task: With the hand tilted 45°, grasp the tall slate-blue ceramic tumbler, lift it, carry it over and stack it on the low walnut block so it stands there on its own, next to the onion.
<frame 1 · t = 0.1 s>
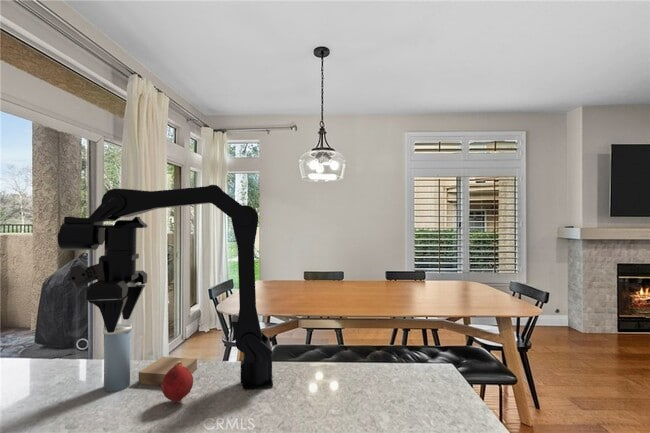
hand: (119, 325, 72), 15 cm above the countertop, tool pointing down, fingers open, 9 cm apart
onion: (177, 403, 70), on the countertop
tumbler: (117, 386, 76), on the countertop
block: (168, 376, 81), on the countertop
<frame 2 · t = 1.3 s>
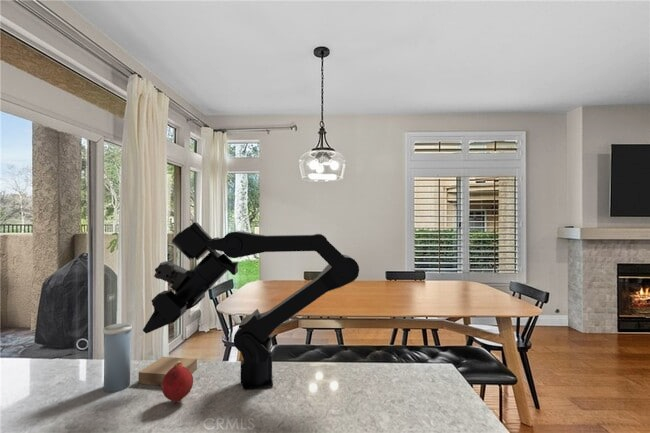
hand: (153, 325, 77), 13 cm above the countertop, tool tilted 45°, fingers open, 9 cm apart
nothing on the countertop moved.
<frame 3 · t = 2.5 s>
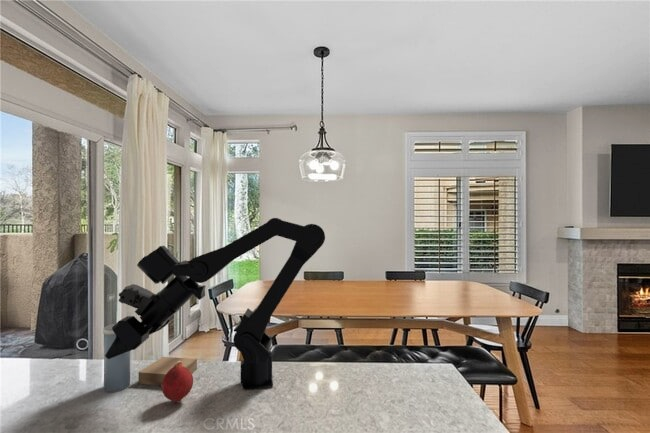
hand: (118, 349, 76), 8 cm above the countertop, tool tilted 45°, fingers open, 9 cm apart
nothing on the countertop moved.
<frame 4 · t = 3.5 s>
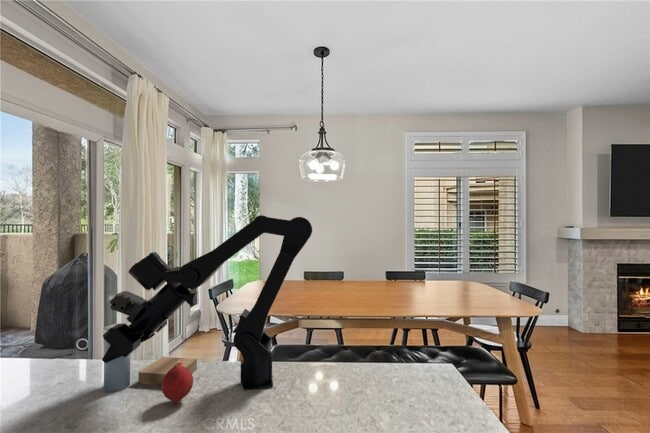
hand: (110, 356, 76), 7 cm above the countertop, tool tilted 45°, fingers closed on tumbler, 5 cm apart
tumbler: (116, 386, 76), on the countertop, touching gripper
everything else where it was.
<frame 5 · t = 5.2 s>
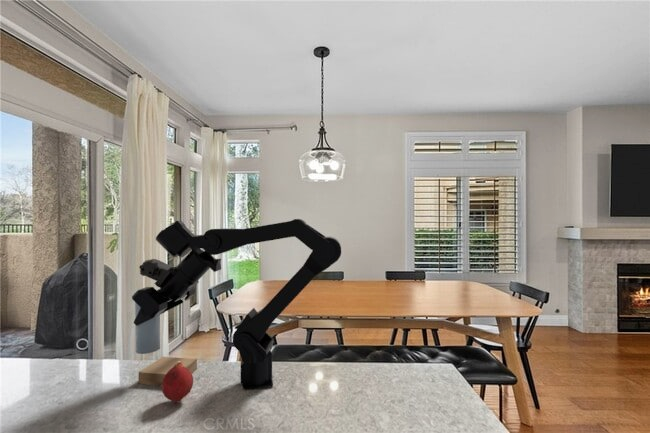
hand: (142, 320, 80), 13 cm above the countertop, tool tilted 45°, fingers closed on tumbler, 5 cm apart
tumbler: (148, 349, 79), point 7 cm above the countertop, touching gripper
everything else where it was.
when the fingers open (10 cm above the countertop, at t = 6.7 s): tumbler drops 1 cm, resting on block.
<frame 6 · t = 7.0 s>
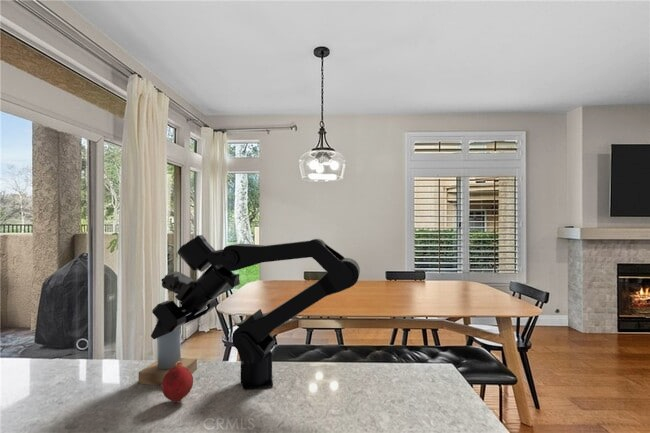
hand: (163, 331, 82), 10 cm above the countertop, tool tilted 45°, fingers open, 8 cm apart
tumbler: (169, 364, 81), point 3 cm above the countertop, touching block
everything else where it was.
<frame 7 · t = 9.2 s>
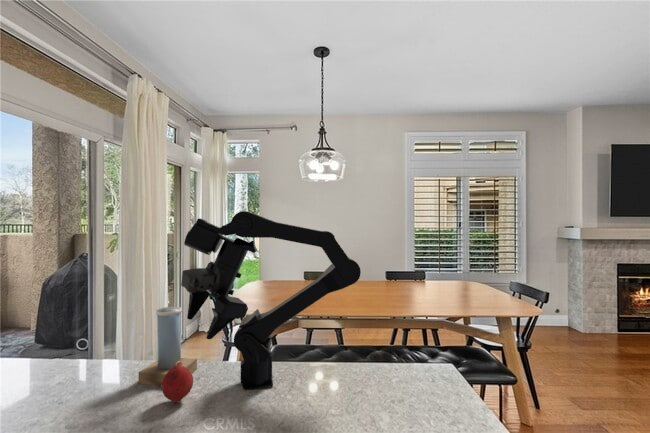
hand: (198, 328, 77), 12 cm above the countertop, tool tilted 25°, fingers open, 9 cm apart
nothing on the countertop moved.
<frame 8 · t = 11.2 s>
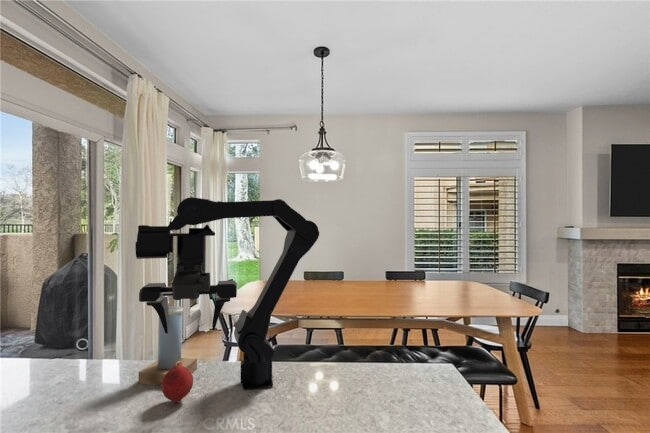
hand: (190, 331, 73), 13 cm above the countertop, tool pointing down, fingers open, 9 cm apart
nothing on the countertop moved.
at the end: tumbler inside the target area on the block (0.1 cm from its centre), point 2.5 cm above the block's base; tumbler tilted 1°; the gripper is holding nothing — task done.
